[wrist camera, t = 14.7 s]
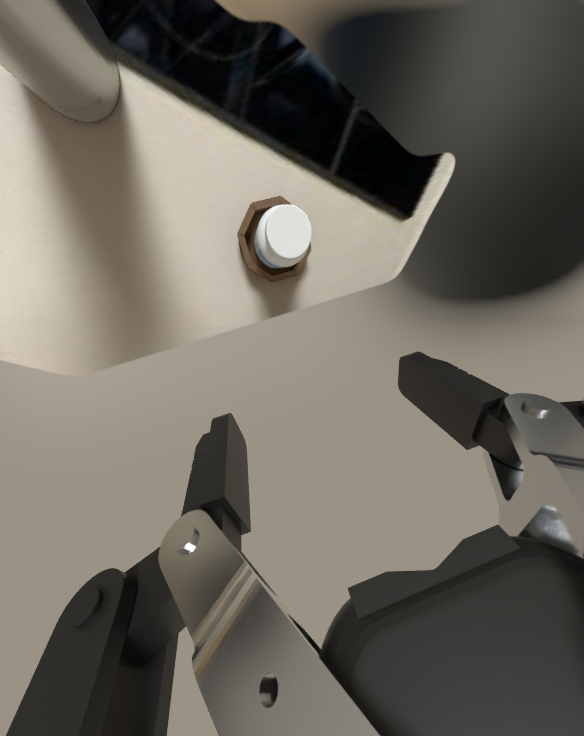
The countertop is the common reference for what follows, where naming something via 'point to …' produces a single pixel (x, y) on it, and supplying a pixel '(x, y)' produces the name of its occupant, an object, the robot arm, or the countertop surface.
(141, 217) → the countertop surface
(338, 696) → the robot arm
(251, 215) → the bowl
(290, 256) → the pill bottle
